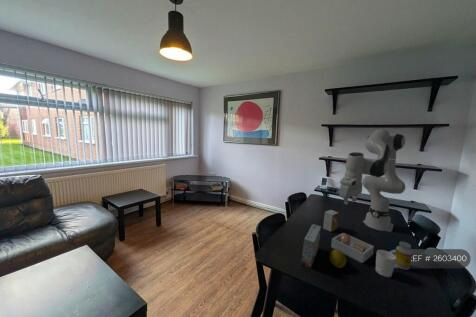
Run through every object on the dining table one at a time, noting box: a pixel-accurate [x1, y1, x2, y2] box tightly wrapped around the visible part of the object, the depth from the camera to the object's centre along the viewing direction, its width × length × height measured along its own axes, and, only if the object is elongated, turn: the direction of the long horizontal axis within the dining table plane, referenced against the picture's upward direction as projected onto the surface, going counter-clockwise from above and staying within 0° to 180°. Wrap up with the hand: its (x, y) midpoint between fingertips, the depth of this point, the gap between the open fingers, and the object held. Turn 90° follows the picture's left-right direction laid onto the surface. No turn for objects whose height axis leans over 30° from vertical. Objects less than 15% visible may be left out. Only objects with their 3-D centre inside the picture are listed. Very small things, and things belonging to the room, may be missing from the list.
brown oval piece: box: [340, 233, 351, 246], centre depth 118 cm, size 5×5×7 cm
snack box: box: [301, 223, 322, 269], centre depth 108 cm, size 21×6×15 cm, turn 148°
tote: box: [330, 232, 375, 264], centre depth 115 cm, size 18×14×6 cm
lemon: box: [329, 249, 347, 269], centre depth 102 cm, size 11×8×8 cm
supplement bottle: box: [394, 241, 413, 271], centre depth 103 cm, size 7×7×13 cm
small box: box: [322, 209, 339, 233], centre depth 141 cm, size 8×6×13 cm
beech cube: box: [353, 243, 366, 253], centre depth 112 cm, size 5×5×5 cm
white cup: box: [374, 249, 396, 278], centre depth 97 cm, size 8×8×10 cm
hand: (350, 202), depth 115 cm, fingers open, 8 cm apart
